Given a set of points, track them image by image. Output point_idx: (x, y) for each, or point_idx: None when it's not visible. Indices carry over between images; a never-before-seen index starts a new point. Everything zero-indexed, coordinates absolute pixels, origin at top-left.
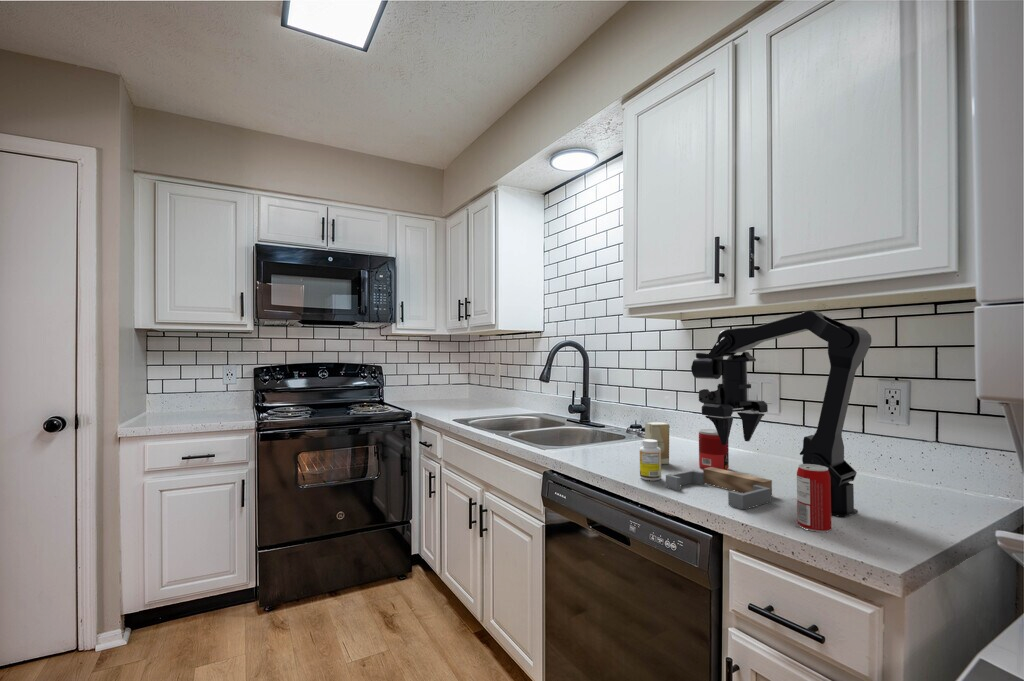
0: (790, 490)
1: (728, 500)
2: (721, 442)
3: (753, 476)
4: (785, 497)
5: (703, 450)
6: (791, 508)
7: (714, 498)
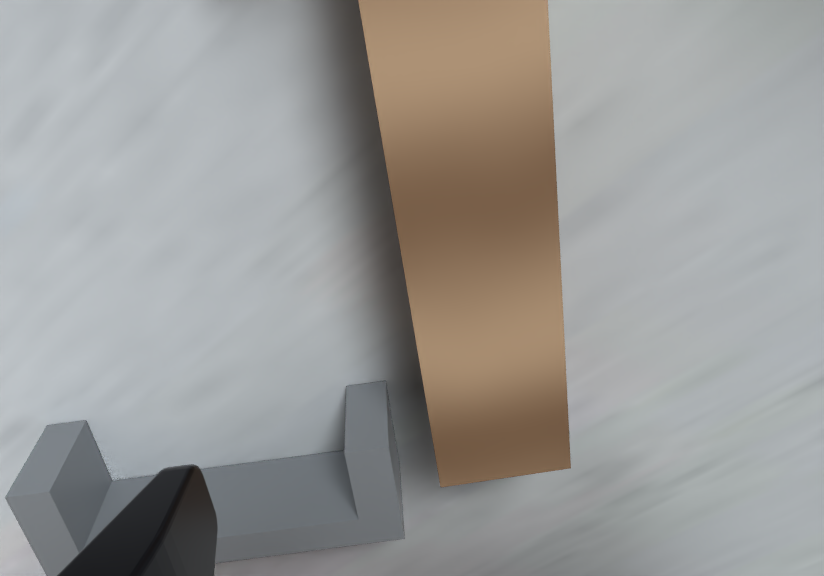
0: (810, 342)
1: (33, 449)
2: (142, 497)
3: (552, 334)
4: (589, 436)
5: None
6: (396, 572)
7: (53, 272)
